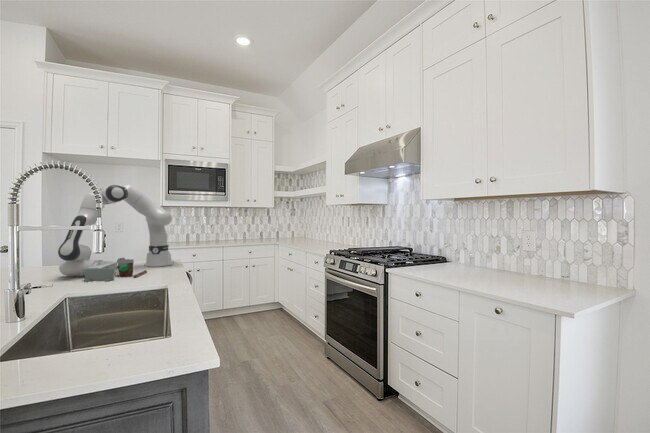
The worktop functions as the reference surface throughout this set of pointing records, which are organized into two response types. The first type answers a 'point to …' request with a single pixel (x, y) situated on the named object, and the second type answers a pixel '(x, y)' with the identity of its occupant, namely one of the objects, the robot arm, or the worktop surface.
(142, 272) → the rail
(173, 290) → the worktop surface
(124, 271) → the food container
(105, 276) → the screen
